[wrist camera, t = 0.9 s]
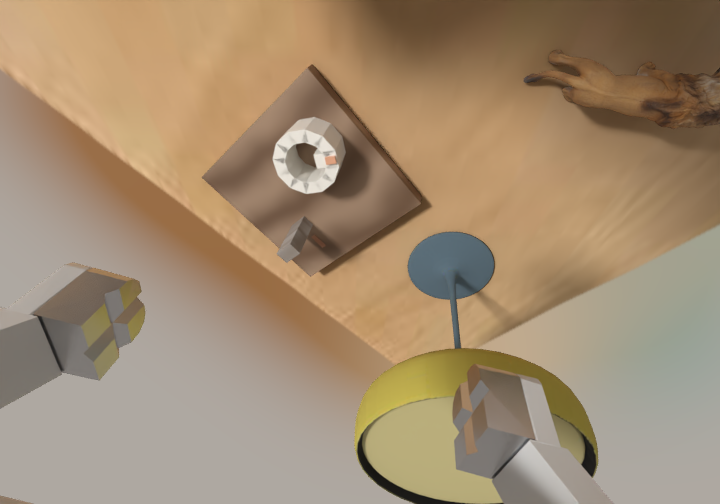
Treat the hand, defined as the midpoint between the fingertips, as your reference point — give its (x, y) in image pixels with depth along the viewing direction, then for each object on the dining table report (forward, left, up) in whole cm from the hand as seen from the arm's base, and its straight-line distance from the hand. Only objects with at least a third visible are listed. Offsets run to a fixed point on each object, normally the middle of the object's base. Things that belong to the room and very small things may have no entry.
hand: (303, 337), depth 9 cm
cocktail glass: (+23, -9, -34) cm, 42 cm away
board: (+3, -15, -34) cm, 37 cm away
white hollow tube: (0, -11, -32) cm, 34 cm away
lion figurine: (+13, +15, -34) cm, 40 cm away
